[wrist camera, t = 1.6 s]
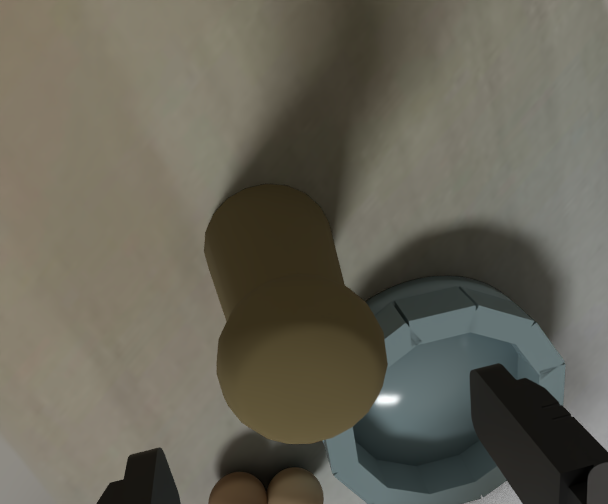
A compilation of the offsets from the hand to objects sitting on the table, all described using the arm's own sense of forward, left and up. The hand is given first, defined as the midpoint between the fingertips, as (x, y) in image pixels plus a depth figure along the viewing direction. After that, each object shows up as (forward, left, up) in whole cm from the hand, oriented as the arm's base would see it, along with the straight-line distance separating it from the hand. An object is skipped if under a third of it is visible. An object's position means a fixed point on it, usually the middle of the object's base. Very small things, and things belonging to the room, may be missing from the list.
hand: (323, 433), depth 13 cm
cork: (0, 0, -13) cm, 13 cm away
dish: (+10, +7, -12) cm, 17 cm away
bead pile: (+15, -3, -12) cm, 20 cm away
